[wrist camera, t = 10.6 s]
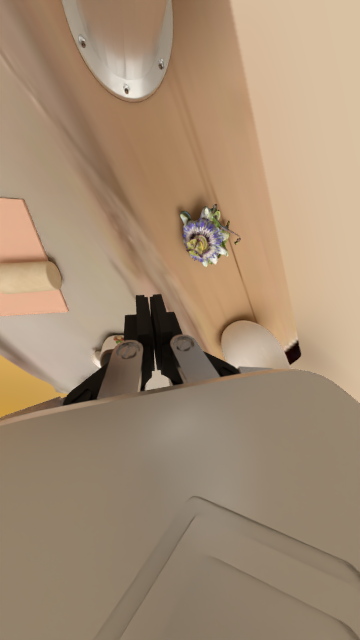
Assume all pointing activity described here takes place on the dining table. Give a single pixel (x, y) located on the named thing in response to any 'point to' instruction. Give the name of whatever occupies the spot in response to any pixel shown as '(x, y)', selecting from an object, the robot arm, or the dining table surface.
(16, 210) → the mat
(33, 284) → the candle
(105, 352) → the spread jar
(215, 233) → the passion flower
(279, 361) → the pitcher
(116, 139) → the dining table surface
